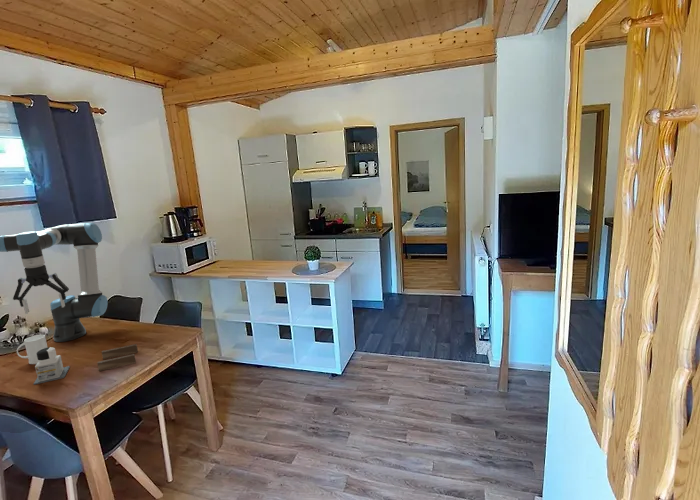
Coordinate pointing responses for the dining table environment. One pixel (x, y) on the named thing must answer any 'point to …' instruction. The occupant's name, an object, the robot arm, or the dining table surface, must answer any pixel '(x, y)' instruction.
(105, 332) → the dining table surface
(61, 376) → the pad
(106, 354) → the rack
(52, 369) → the container
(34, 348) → the mug
